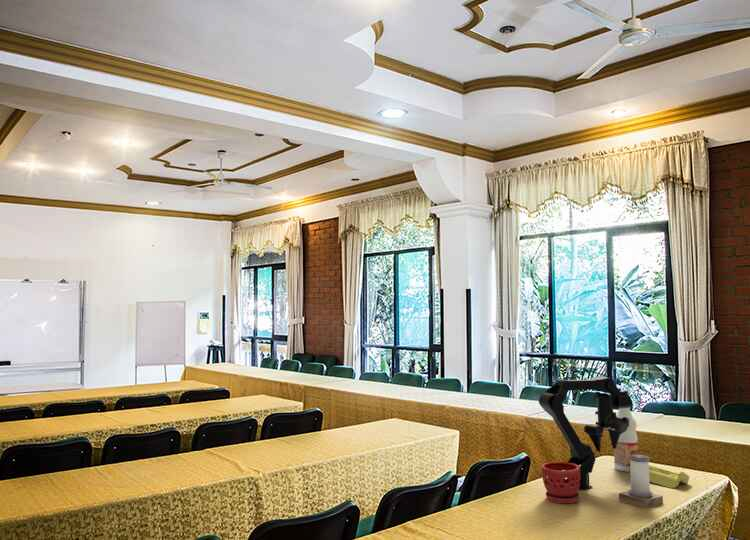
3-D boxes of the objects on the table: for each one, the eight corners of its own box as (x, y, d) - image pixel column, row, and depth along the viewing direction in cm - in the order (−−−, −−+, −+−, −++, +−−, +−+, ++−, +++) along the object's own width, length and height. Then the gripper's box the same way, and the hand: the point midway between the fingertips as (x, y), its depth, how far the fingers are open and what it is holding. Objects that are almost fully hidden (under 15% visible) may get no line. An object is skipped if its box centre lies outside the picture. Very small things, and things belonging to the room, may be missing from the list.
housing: (635, 498, 202) (634, 459, 203) (624, 491, 210) (623, 454, 210) (656, 497, 203) (655, 459, 204) (645, 490, 210) (643, 453, 211)
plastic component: (691, 477, 227) (680, 470, 222) (686, 496, 225) (675, 489, 220) (642, 463, 243) (631, 456, 238) (637, 481, 241) (626, 474, 236)
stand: (644, 508, 199) (644, 500, 199) (619, 500, 208) (619, 493, 208) (662, 503, 204) (662, 496, 204) (637, 495, 213) (637, 488, 213)
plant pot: (564, 492, 217) (564, 459, 218) (589, 503, 204) (588, 468, 205) (534, 496, 212) (534, 462, 213) (557, 507, 200) (557, 471, 201)
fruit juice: (615, 465, 255) (613, 400, 257) (639, 468, 250) (636, 401, 253) (613, 470, 246) (611, 403, 248) (638, 473, 242) (635, 404, 244)
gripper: (607, 414, 217) (608, 457, 216) (638, 410, 227) (640, 451, 226) (582, 410, 227) (583, 451, 226) (614, 406, 237) (615, 445, 235)
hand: (606, 450), depth 228 cm, fingers open, 9 cm apart
